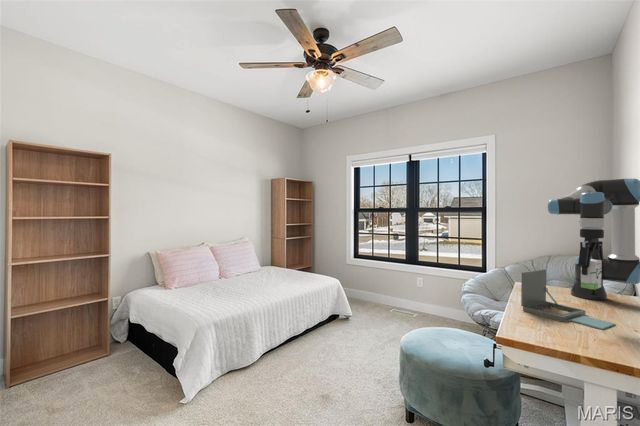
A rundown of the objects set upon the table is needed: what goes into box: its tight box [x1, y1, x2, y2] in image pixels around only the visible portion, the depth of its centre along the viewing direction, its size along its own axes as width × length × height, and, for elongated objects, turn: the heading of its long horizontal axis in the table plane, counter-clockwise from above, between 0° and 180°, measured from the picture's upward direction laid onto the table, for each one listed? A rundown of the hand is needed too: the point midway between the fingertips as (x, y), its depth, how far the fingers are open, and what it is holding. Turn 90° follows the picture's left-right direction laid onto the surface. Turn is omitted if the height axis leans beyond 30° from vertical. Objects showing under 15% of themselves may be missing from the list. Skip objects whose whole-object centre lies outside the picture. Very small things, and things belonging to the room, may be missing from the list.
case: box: [520, 268, 586, 323], centre depth 138 cm, size 20×17×18 cm
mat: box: [568, 315, 616, 331], centre depth 126 cm, size 12×11×1 cm
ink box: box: [581, 259, 602, 290], centre depth 126 cm, size 9×5×12 cm, turn 124°
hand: (591, 281), depth 126 cm, fingers closed on ink box, 9 cm apart
